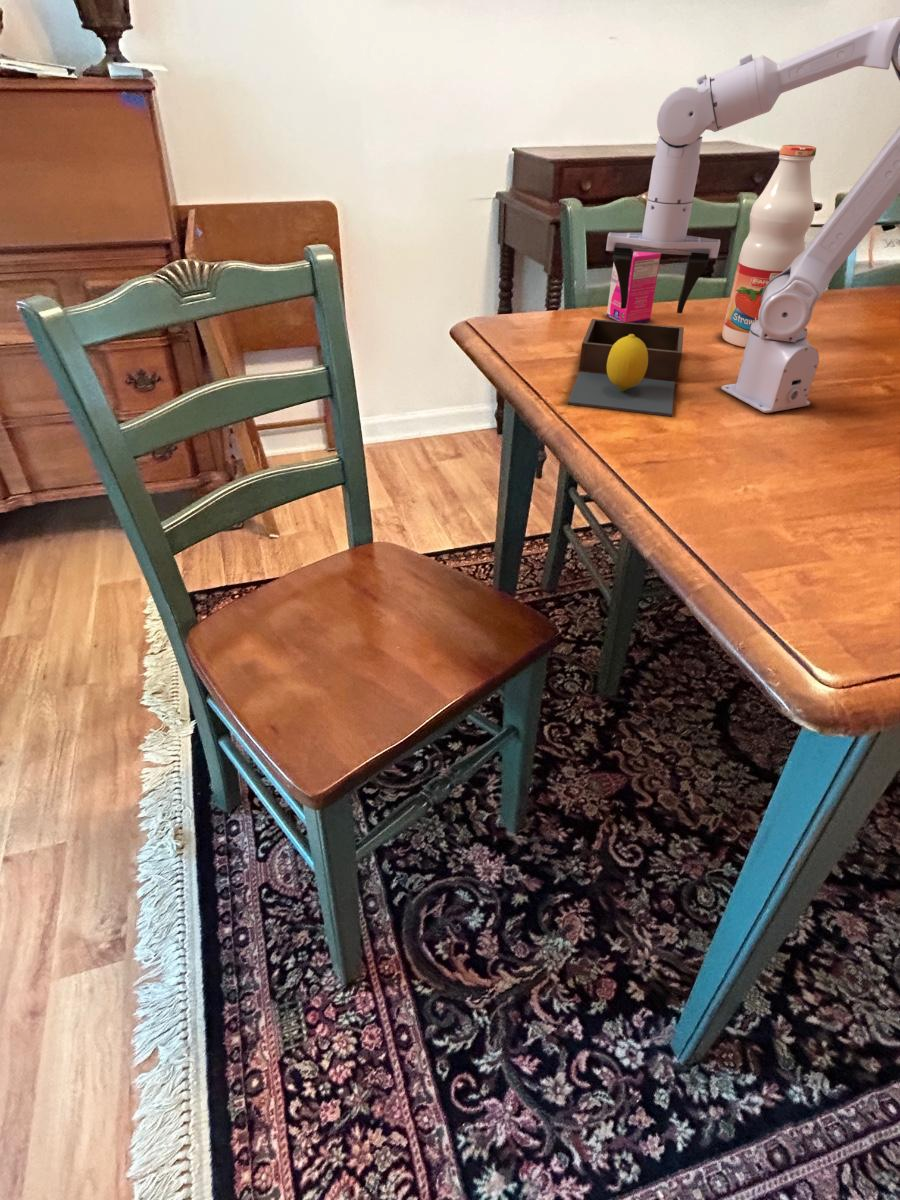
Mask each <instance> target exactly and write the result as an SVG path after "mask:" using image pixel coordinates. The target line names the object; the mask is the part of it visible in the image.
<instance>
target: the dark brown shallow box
mask: <svg viewBox="0 0 900 1200" xmlns="http://www.w3.org/2000/svg"><path fill="white" fill-rule="evenodd" d="M684 332H685V327H684V326H675V325H666V324H665V325H664V324H653V323H644V322H643V323H632V322H622V321H616V320H612V319H611V320H609V319H599V318H597V319H596V318H591V320H590V323H589V324H588V327H587V330H586V332H585V334H584V338H583V340H582V342H581V349H580V357H579V366H578V373H579V372H588V373H598V374H607V360H608V356H609V353H610V350H611V348H612V346H613V345H614V344H615V343H616V342H617V341H618V340H619V339H621V338H623V337H626V336H628V335H629V334H634V335H635V337H637V338H639V339H640V340H642V341H643V343H644V344H645V346H646V348H647V352H648V366H647V370H646V373H645V375H644V377H643V378H645V379H654V380H663V381H673V382H675V383H677V381H678V375H679V370H680V366H681V361H682V355H683V346H684V334H685V333H684Z"/></svg>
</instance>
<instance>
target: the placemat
mask: <svg viewBox="0 0 900 1200" xmlns="http://www.w3.org/2000/svg"><path fill="white" fill-rule="evenodd" d="M675 386H676V382H673V381H663V380H654V379H645V378H643V379H642V380H641V381H640V382H639V383H638V384H637V385H636V386H634V387H631V388H628V389H627V390H626V391H621V390H620V389H619V388H618V387H617V386H615V385H614V384H613V383H612V382H611V381H610V379H609V377H608V375H607V374H598V373H588V372H579V371H578V374H577V377H576V379H575V382H574V385H573V387H572V390H571V392H570V395H569V398H568V401H567V405H569V406H570V405H571V406H577V407H578V406H579V407H588V408H595V409H604V410H612V411H613V410H614V411H621V412H628V413H629V412H630V413H639V414H646V415H647V414H648V415H656V416H657V415H658V416H664V417H672V416H673V411H674V409H673V408H674V397H675Z"/></svg>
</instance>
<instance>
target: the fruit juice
mask: <svg viewBox="0 0 900 1200" xmlns="http://www.w3.org/2000/svg"><path fill="white" fill-rule="evenodd" d="M778 153H779V155H778V160H779V161H778V164H777V167H776V168H775V170H774V171H773V173H772V175H771V177H770V179H769V181H768V182H767V184H766V185H765V187H764V189H763V191H762V192H761V194H760V195H759V196H758V198H757V199H755V201H754V203H753V204H752V207H751V209H750V213H749V231H748V234H747V236H746V237H745V239H744V241H743V243H742V246H741V249H740V253H739V256H738V260H737V265H736V270H735V274H734V278H733V283H732V287H731V291H730V296H729V300H728V306H727V309H726V313H725V318H724V322H723V327H722V332H721V336H722V339H723V340H724V341H725V342H727V343H729V344H732V345H734V346H738V347H741V348H745V347H746V343H747V339H748V335H749V331H750V327H751V324H753V323H754V322H756V321H757V320H758V314H759V309H760V307H761V295H762V292H763V289H764V287H765V286H766V284H767V283H768V282H769V281H770V280H771V279H772V278H773V277H775V276H777V275H778V274H780V273H782V272H783V271H785V270H786V269H787V268H788V267H789V266H790V264H791V263H792V262H793V260H794V259H795V258H796V257H797V256H798V255H800V254H801V253H802V252H803V251H804V250H805V249H806V243H805V237H806V235H807V233H808V230H809V229H810V227H811V225H812V223H813V221H814V218H815V211H816V210H815V209H816V208H815V203H814V200H813V193H812V180H811V179H812V178H811V177H812V176H811V174H812V173H811V163H812V162H813V161H814V159H815V156H816V153H817V147H816V146H815V145H814V146H813V145H808V144H782V145H781V147H780V148H779V152H778Z"/></svg>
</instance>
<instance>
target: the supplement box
mask: <svg viewBox="0 0 900 1200" xmlns="http://www.w3.org/2000/svg"><path fill="white" fill-rule="evenodd" d="M661 255H662V253H649V252H634V251H633V257H632V264H631V270H630V277H629V288H628V299H627V305H626V309H622V308H621V292H620V284H619V279H618V275H617V271H616V268H615V265H614V262H612V263H613V264H612V265H613V266H612V271H611V279H610V286H609V294H608V302H607V310H606V317H608V318H610V319H611V320H613V321H622V322H632V323H643V324H644V323H649V322H651V317H652V310H653V306H654V305H653V304H654V300H655V292H656V287H657V280H658V275H659V269H660V262H661Z"/></svg>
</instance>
